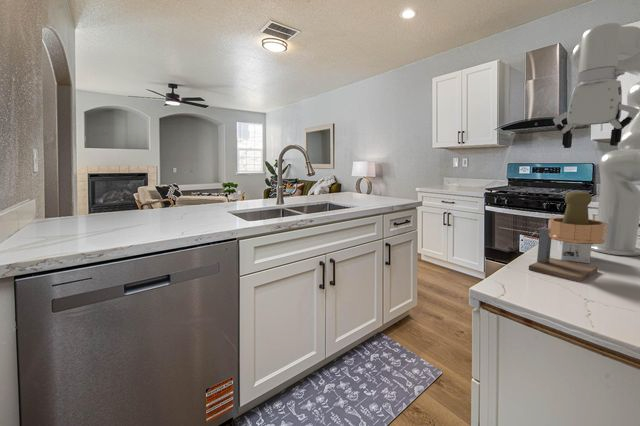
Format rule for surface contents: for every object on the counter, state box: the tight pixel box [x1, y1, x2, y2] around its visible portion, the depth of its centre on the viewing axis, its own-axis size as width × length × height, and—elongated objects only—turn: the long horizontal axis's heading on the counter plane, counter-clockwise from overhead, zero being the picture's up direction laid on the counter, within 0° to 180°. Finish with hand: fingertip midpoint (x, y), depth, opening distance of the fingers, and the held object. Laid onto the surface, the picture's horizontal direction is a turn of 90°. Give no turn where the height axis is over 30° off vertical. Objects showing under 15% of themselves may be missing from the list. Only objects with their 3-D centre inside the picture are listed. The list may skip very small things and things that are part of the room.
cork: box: [562, 190, 593, 225], centre depth 78 cm, size 6×6×11 cm
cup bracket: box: [528, 217, 608, 283], centre depth 80 cm, size 12×13×14 cm
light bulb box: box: [556, 240, 592, 264], centre depth 92 cm, size 11×7×11 cm, turn 148°
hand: (589, 146), depth 82 cm, fingers open, 9 cm apart
